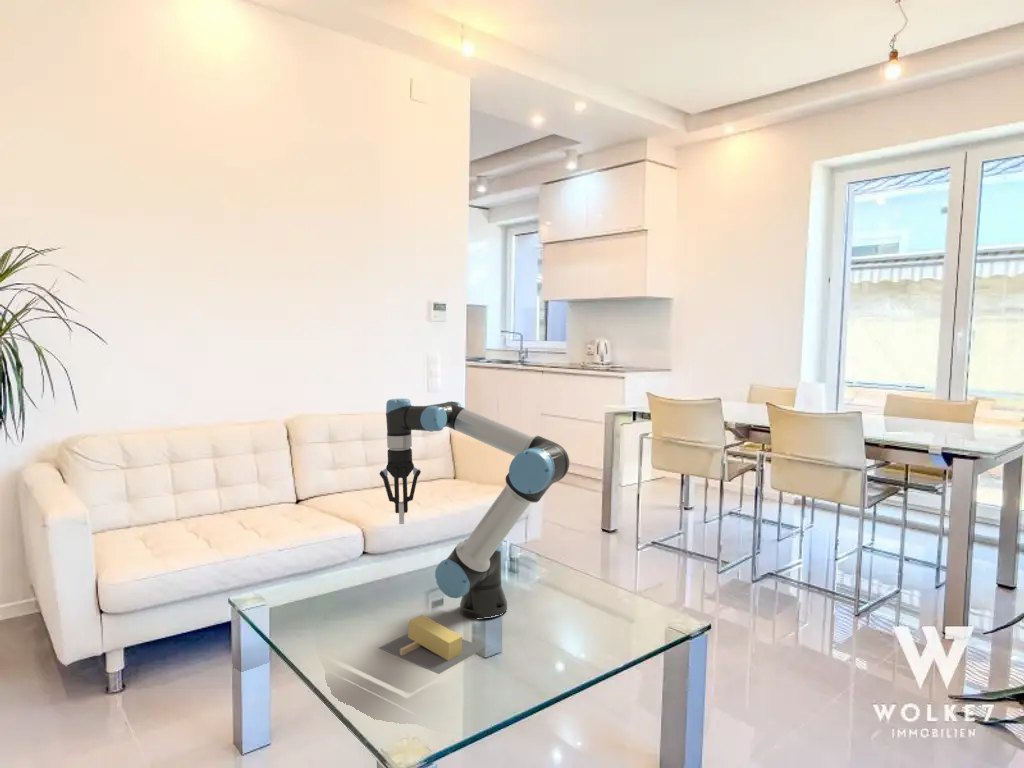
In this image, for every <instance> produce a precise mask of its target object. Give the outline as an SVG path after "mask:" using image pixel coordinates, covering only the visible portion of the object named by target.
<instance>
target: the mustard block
mask: <svg viewBox="0 0 1024 768" xmlns="http://www.w3.org/2000/svg"><path fill="white" fill-rule="evenodd" d="M407 632H408V633H407V634H408V638H410V639H412V640H414V641H415V642H417V643H419V644H420V645H422V646H424V647H425V648H427V649H429V650H431V651H432V652H434V653H436V654H437V655H439V656H441V657H443V658H444V659H446V660H450V659H452V658H454V657H456V656H458V655H460V654H461V649H462V639H463V635H460V634H458V633H457V632H455V631H454V630H451V629H450V628H447V627H446V626H444V625H443V624H440V623H438V622H437V621H435V620H433V619H431V618H429V617H427V616H425V615H423V614H421V615H419V616H416V617H414V618H413V619H412V618H411V619H409V620H408V630H407Z"/></svg>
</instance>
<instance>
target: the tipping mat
mask: <svg viewBox="0 0 1024 768" xmlns="http://www.w3.org/2000/svg"><path fill="white" fill-rule="evenodd" d="M485 648H486V647H485V646H483V645H480V644H477V643H474V642H472V641H468V640H467V639H463V638H462V649H461V654H460V655H458V656H456V657H454V658H452V659H450V660H446V659H444V658H443V657H441V656H439V655H437V654H436V653H434V652H432V651H431V650H429V649H427V648H425V647H424V646H422V645H420V644H419V643H417V642H415V641H414V640H412V639H410V638H408V633H407V634H404V635H402V636H401V637H398V638H396V639H394V640H392V641H389V642H387V643H385V644H384V645H380V646H379V647H378V649H380V650H383V651H385V652H387V653H390V654H392V655H394V656H397V657H398V658H401V659H403V660H406V661H408V662H410V663H411V664H415V665H417V666H420V667H421V668H423V669H426V670H429V671H431V672H433V673H436V674H441V673H442V674H443V673H444V672H446V670H449V669H451V668H452V667H454V666H456V665H458V664H459V663H462V662H463V661H464V660H467V659H469V658H470V657H472V656H473V655H475V654H477V653H478V652H480V651H482V650H484V649H485Z"/></svg>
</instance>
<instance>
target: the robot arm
mask: <svg viewBox="0 0 1024 768" xmlns="http://www.w3.org/2000/svg"><path fill="white" fill-rule="evenodd" d="M385 417H386V418H385V419H386V431H387V432H386V446H387V465H386V467H385V468H384V469H383V470H382V469H381V470H380V472H379V476H380V477H381V478H382V481H383V485H384V488H385V492H386V494H387V498H388V501H389V502H392V503H394V512H395V514H398V518H399V519H398V524H399V525H405V522H406V520H405V519H406V518H405V517H406V516H405V514H406V513H408V511H409V505H408V503H409V502H411V501H413V500H414V495H415V491H416V486H417V481H418V478H419V476H420V475H421V472H422V470H421V469H420V468H417V467H415V465H414V462H413V449H412V448H411V447H412V444H413V443H412V431H423V432H424V431H425V432H431V433H432V432H440V431H443V430H444V428H445V427H447V428H449V429H451V430H454V431H456V432H459V433H461V434H464V435H466V436H468V437H469V438H470V437H471V438H472V439H475V440H477V441H479V442H481V443H484V444H486V445H488V446H491V447H492V448H495V449H497V450H500V451H502V452H503V453H506V454H509V455H510V456H512V457H513V459H512V461H511V462H510V464H509V468H508V472H507V475H506V476H505V478H504V480H505V484H506V485H505V486H504V487H503V489H502V491H501V492H500V494H498V496H497V497H496V499H495V500H494V501H493V503H492V504H491V506H490V507H489V509H487V512H486V513H485V514H484V515H483V517H482V519H481V520H480V521H479V522H478V524H477V526H476V527H475V528H474V530H473V531H472V532H471V534H470V535H469V536H468V538H465V539H464V541H460V542H458V543H457V545H456V546H455V548H453V550H452V552H451V553H450V554H449V555H448V556H447V558H446V559H443V560H441V561H440V562H439V563H438V565H437V566H436V568H435V571H434V573H435V574H434V576H435V577H434V578H435V579H436V581H435V583H436V584H437V586H438V589H439V590H440V591H441V592H442V594H444V595H445V596H446V597H448V598H453V599H459V598H461V599H460V602H459V613H460V614H461V615H463V617H466V618H468V619H473V620H478V619H477V618H484V617H491V616H495V615H500V614H502V613H504V612H505V611H506V610H507V611H508V600H507V597H506V595H505V593H504V589H503V587H502V555H501V553H502V550H501V545H502V542H503V541H504V540H505V538H506V537H508V536H507V535H509V533H510V531H511V530H512V529H513V528H514V526H515V525H516V524H517V522H518V521H519V519H520V518H521V517H522V515H523V514H524V513H525V512H526V510H527V509H528V507H529V506H530V505H531V504H537V503H538V502H539V501H541V499H542V498H543V497H544V495H545V494H546V492H547V491H549V488H550V487H551V486H552V485H553V484H556V483H558V482H559V481H561V480H562V479H563V478H564V477H565V476H566V475H567V473H568V472H569V468H570V457H569V454H568V452H567V451H566V449H565V448H564V447H563V446H562V445H560V444H558V443H557V442H555V441H552V440H550V439H548V438H545V437H542V436H540V435H535V436H531V435H529V434H526V433H524V432H522V431H519V430H516V429H514V428H512V427H509V426H507V425H504V424H502V423H500V422H498V421H495V420H494V419H490V418H488V417H486V416H483V415H480V414H478V413H476V412H473V411H470V410H469V409H466V408H465V407H464V405H463V404H462V403H461V402H459V401H446V402H442V403H436V404H429V405H412V404H411V400H410V399H409V398H391V399H388V400H387V401H386V407H385ZM411 472H412V474H413V479H412V483H411V489H410V493H409V496H408V477H409V476H410V474H411ZM389 474H390V476H392V478H393V483H394V485H393V487H394V494H393V491H392V488H391V484H390V480H389V477H388V475H389ZM399 479H402V480H401V481H402V500H403V501H400V481H399ZM507 611H506V612H507Z"/></svg>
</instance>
